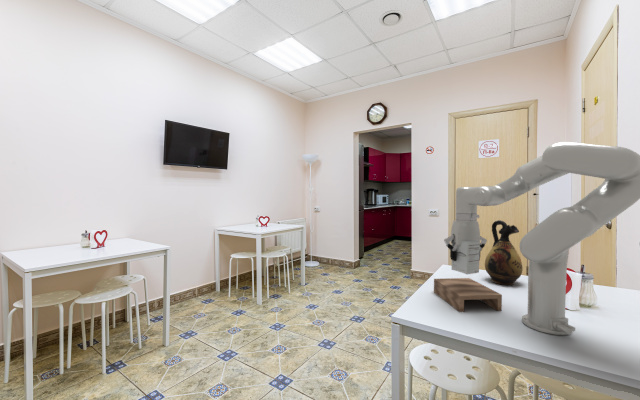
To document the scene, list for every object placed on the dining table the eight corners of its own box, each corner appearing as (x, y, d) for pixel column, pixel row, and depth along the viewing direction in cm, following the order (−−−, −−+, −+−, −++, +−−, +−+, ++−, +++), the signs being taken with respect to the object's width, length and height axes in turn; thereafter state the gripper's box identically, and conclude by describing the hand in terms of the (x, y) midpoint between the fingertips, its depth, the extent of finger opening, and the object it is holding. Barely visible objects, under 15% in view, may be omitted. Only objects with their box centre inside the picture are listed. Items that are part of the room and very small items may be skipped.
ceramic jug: (530, 285, 130) (531, 222, 130) (508, 289, 125) (509, 223, 124) (495, 275, 146) (496, 218, 145) (474, 278, 140) (475, 219, 140)
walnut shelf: (501, 310, 102) (501, 294, 102) (459, 312, 101) (460, 295, 101) (469, 291, 122) (469, 278, 122) (433, 292, 121) (434, 278, 121)
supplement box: (450, 269, 113) (451, 239, 113) (463, 268, 116) (464, 238, 116) (466, 274, 106) (467, 242, 106) (479, 272, 109) (480, 240, 109)
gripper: (480, 216, 115) (479, 257, 115) (440, 216, 114) (439, 258, 114) (493, 218, 107) (492, 262, 108) (450, 218, 106) (449, 262, 107)
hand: (465, 260), depth 111 cm, fingers closed on supplement box, 9 cm apart
